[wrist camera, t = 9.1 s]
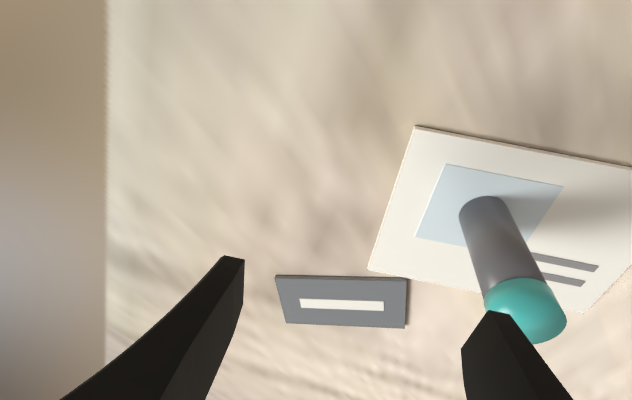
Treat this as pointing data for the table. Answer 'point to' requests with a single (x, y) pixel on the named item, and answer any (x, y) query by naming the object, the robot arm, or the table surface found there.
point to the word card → (343, 300)
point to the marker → (509, 270)
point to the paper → (524, 205)
